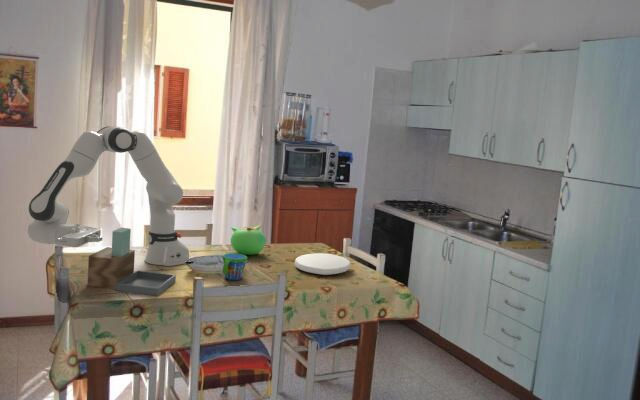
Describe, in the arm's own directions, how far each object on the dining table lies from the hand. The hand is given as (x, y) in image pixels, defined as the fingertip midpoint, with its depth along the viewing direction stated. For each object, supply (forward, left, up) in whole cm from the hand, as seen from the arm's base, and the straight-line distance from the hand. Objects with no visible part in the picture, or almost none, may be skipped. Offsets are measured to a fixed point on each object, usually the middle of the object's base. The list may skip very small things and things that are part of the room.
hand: (100, 239), depth 244 cm
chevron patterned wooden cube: (-4, +4, -17) cm, 18 cm away
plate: (-102, +19, -18) cm, 105 cm away
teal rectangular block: (-6, +6, -5) cm, 10 cm away
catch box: (-14, +14, -17) cm, 26 cm away
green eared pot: (-82, -18, -17) cm, 86 cm away
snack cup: (-53, +17, -17) cm, 58 cm away
